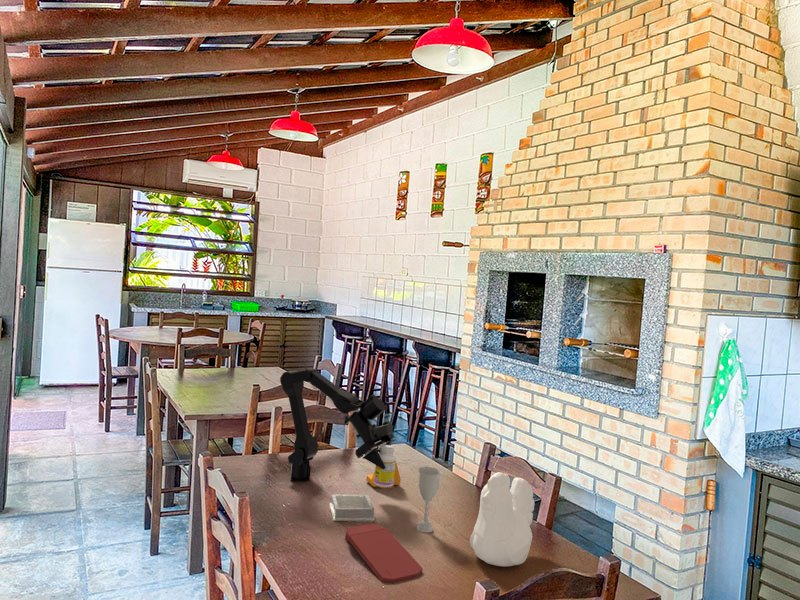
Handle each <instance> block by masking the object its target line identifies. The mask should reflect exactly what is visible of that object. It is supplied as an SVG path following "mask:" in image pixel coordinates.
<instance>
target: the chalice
mask: <svg viewBox="0 0 800 600" xmlns="http://www.w3.org/2000/svg"><path fill="white" fill-rule="evenodd" d="M418 472H419V473H418V474H419V477H418V489H419V492H420V495H421V498H422V500H423V501H425V504H424V506H423V508H424V512H423V514H424V515H423V516H424V517H423V518H422V519H421V520H420V521H419V523H417V526H416V529H417V531H419V532H421V533H432V532H434V528H433V526H432V525H433V524H432V522H431V521H430V520H429V519H428V517H429V515H430V513H429V509H430V502H431V501H433V499H434V498H435V496H436V495H437V493H438V491H439V489H440V479H441V475H442V474H443V471H442V470H441V469H439V468H436V467H430V466H422V467H419V468H418Z"/></svg>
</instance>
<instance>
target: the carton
mask: <svg viewBox="0 0 800 600" xmlns="http://www.w3.org/2000/svg"><path fill="white" fill-rule="evenodd" d="M344 541H345V542H347V543H349V544H350V545H352V546H353V548H354V549H355V550H356V552H357V553H358V554H359V555H360V557H361V558H362V559H363V561H364V562H365V563H366V564H367V566H368V567H369V568H370V569H371V571H372V573H374V575H376V577H377V578H378V580H379V581H381V582H382V581H385V582H384V583H395V582H397V583H398V582H401V581H404V580H405V581H406V580H408V579H412V578H416V577H419V575H421V574H422V573H423V569H424V568H423V567H422V566H421V565H420V564H419V563H418V562H417V561H416V559H415V558H414V557H413V556H412V555H411V554H410V552H408V551H407V549H406V548H405V547H404V546H403V545H402V544H401V543H400V542H399V541H398V540H397V538H396V537H395V536H394V535H393V534H392V533H391V532H390V531H389V530H388V528H387V527H384V526H382V525H379V524H376V523H374V524H373V523H367V524H362V525H355V526H350V527H346V530H345V538H344Z"/></svg>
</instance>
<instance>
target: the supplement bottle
mask: <svg viewBox="0 0 800 600" xmlns="http://www.w3.org/2000/svg"><path fill="white" fill-rule="evenodd" d="M380 451H381V452H380V453H379V452H378V453H379V455H380V457H381V459H382V461H383V463H384V465H385V467H386V468H385V469H381V468H380V467H378V466H376V465H375V468H374V469H375V470H374V472H375V478H374V483H375V484H376V485H377V486H376V487H378V486H380V487H388V488H392V487H391V486H392V485H393V484H394V474H395V464H396V463H397V456H396V455H395V454H394V452H395V447H394V446H392V445H391V446H389V445H382V446H381V447H380Z"/></svg>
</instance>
